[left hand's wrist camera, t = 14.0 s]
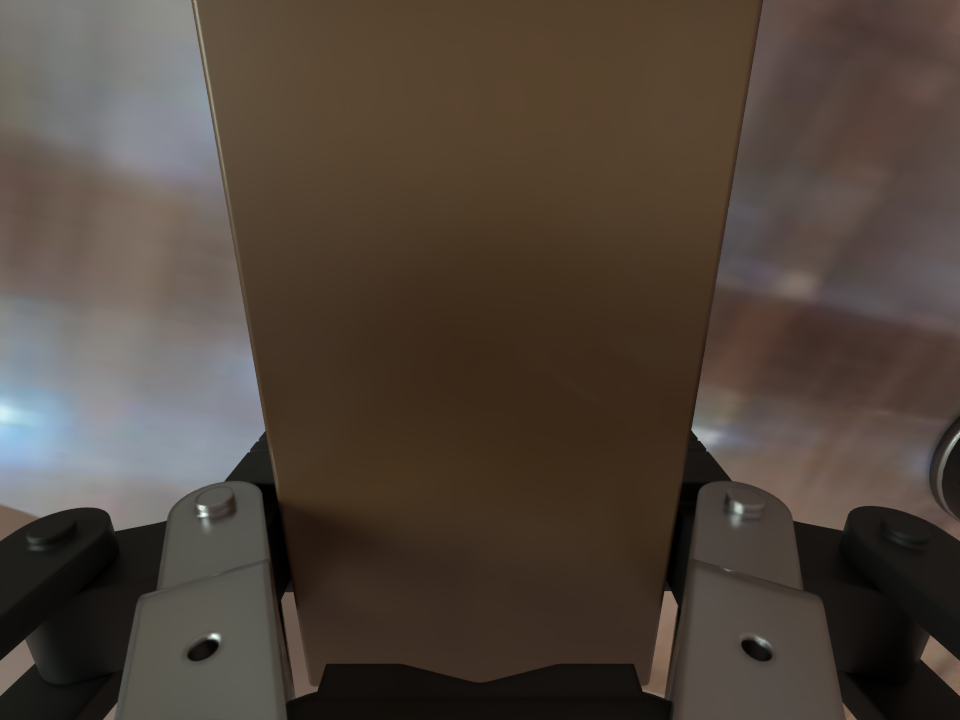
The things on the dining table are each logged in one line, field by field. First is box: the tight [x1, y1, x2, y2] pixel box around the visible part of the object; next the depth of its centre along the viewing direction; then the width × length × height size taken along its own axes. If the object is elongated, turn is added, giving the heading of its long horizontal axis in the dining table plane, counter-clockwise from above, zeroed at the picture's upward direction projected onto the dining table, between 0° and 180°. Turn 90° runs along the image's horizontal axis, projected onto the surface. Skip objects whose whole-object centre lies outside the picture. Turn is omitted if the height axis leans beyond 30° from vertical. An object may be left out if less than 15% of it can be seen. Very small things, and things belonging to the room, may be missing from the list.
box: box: [191, 0, 763, 686], centre depth 9 cm, size 22×6×10 cm, turn 0°
